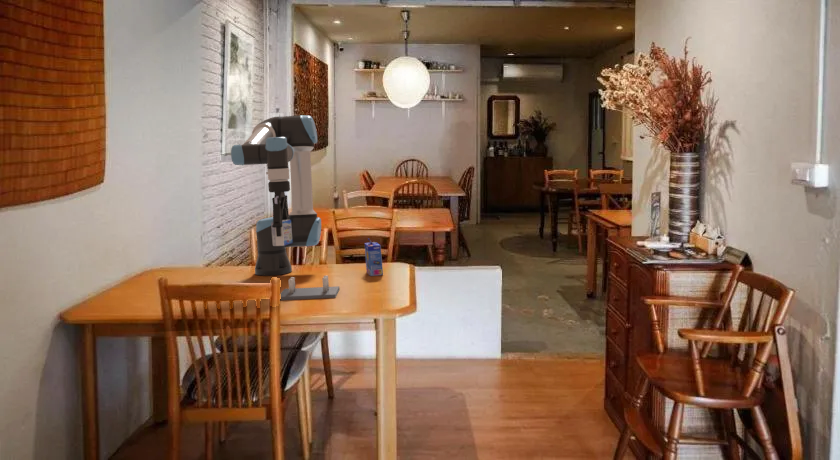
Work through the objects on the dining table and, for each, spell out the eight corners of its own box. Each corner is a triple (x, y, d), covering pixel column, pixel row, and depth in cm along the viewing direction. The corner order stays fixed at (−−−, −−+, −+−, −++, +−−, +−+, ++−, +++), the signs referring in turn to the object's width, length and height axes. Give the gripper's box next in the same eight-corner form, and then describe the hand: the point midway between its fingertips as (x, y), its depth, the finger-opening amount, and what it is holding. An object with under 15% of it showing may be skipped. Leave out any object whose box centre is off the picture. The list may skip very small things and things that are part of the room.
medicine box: (284, 246, 276) (282, 221, 275) (272, 246, 277) (270, 222, 276) (292, 243, 283) (291, 219, 282) (281, 243, 284) (279, 219, 284)
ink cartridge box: (365, 272, 318) (363, 237, 316) (378, 271, 319) (377, 236, 317) (369, 276, 308) (367, 240, 306) (383, 275, 309) (381, 239, 307)
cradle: (284, 292, 285) (283, 275, 284) (339, 289, 285) (338, 272, 284) (277, 300, 271) (276, 282, 270) (335, 297, 271) (334, 280, 270)
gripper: (274, 179, 288) (278, 240, 291) (261, 182, 267) (265, 248, 270) (295, 178, 288) (298, 239, 290) (282, 181, 267) (287, 247, 269)
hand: (282, 243), depth 280 cm, fingers closed on medicine box, 8 cm apart
